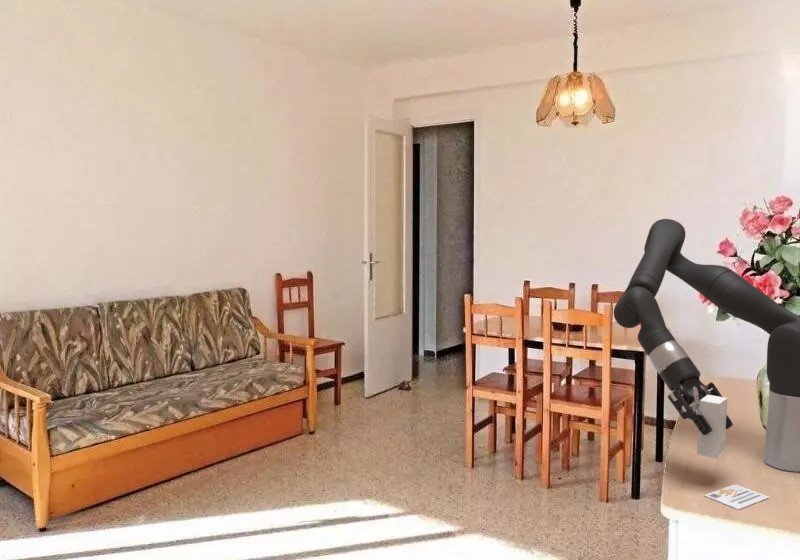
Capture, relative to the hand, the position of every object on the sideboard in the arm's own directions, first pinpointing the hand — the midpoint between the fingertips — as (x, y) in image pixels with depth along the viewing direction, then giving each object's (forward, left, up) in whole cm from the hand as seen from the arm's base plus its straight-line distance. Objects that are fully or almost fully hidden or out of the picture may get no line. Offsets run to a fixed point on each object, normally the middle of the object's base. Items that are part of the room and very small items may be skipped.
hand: (718, 430), depth 145 cm
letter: (+2, +6, -12) cm, 14 cm away
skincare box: (0, -1, -6) cm, 6 cm away
